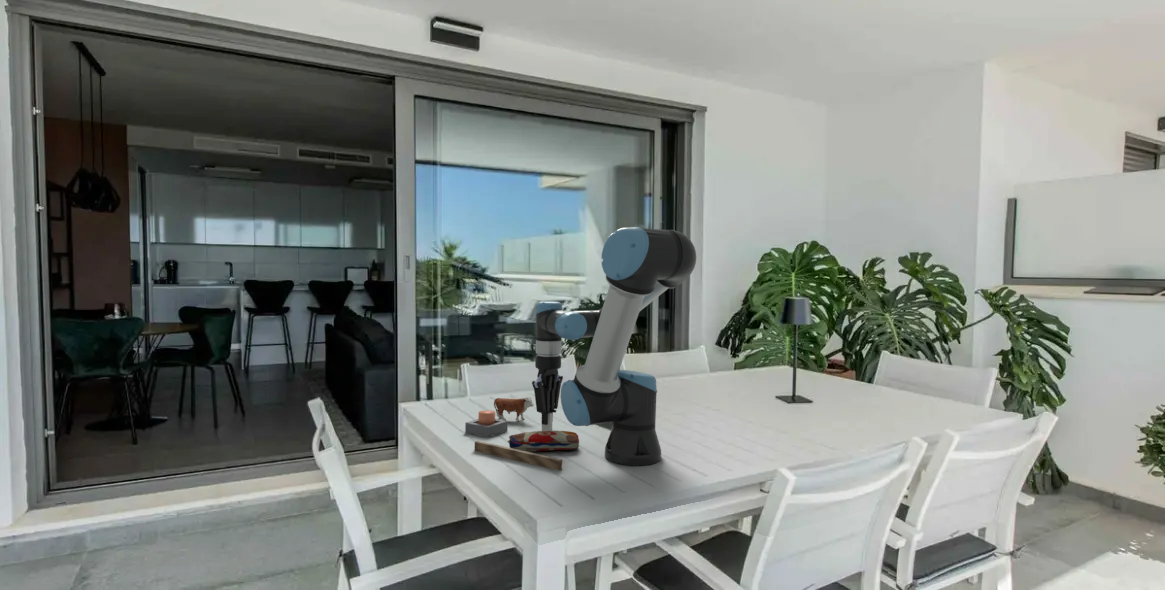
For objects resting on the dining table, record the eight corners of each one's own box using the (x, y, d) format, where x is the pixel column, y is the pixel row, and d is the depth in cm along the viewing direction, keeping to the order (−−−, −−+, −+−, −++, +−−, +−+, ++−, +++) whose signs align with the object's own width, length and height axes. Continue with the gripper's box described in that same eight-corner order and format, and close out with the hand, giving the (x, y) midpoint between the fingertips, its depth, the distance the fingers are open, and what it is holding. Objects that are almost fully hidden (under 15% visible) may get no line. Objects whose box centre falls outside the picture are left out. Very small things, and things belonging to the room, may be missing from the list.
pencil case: (576, 458, 165) (577, 439, 165) (504, 454, 167) (504, 436, 167) (580, 446, 176) (580, 428, 176) (512, 443, 178) (512, 425, 178)
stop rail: (561, 469, 155) (562, 459, 155) (559, 470, 154) (559, 460, 154) (477, 449, 170) (477, 440, 170) (474, 450, 169) (474, 441, 169)
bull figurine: (532, 423, 200) (532, 398, 199) (492, 420, 202) (492, 395, 201) (535, 419, 204) (535, 395, 203) (496, 417, 206) (496, 393, 206)
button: (498, 424, 189) (498, 411, 189) (487, 428, 185) (487, 415, 184) (485, 422, 191) (485, 409, 191) (474, 425, 187) (475, 412, 187)
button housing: (507, 430, 190) (507, 421, 189) (488, 437, 182) (488, 427, 182) (485, 426, 194) (485, 416, 194) (465, 432, 187) (465, 422, 186)
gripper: (550, 351, 187) (548, 428, 188) (524, 356, 176) (523, 437, 177) (571, 353, 183) (569, 431, 184) (546, 358, 172) (544, 442, 173)
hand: (546, 434), depth 180 cm, fingers closed
